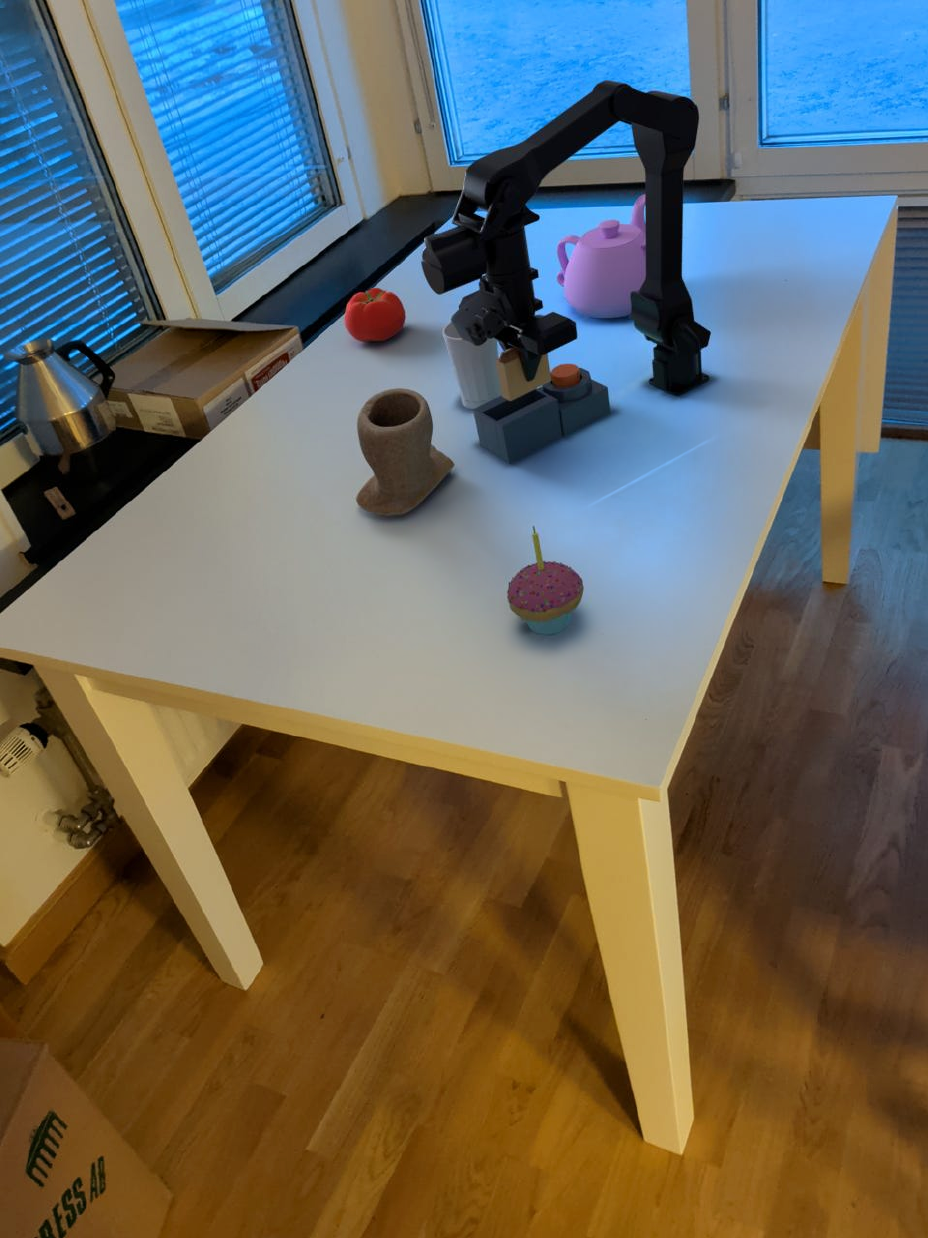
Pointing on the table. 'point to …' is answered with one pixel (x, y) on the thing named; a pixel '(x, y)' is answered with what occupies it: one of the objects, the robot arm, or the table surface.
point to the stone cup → (398, 452)
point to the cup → (473, 368)
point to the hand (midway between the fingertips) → (525, 377)
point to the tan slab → (519, 375)
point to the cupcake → (545, 593)
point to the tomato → (374, 315)
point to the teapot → (605, 266)
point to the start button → (565, 375)
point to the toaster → (518, 424)
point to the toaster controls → (579, 402)
